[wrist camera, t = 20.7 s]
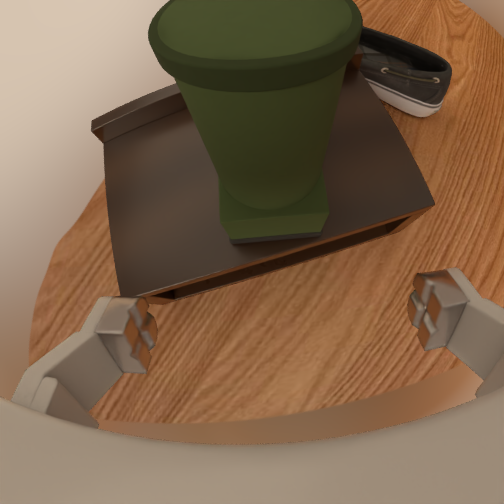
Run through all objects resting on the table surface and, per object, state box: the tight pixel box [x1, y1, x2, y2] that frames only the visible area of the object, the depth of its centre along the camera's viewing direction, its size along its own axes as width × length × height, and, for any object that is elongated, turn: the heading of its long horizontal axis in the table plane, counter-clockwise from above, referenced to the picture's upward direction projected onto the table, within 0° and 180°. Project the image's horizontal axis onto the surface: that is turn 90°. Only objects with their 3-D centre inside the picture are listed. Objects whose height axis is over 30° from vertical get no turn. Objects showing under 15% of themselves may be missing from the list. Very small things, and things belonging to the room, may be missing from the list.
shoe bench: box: [91, 47, 435, 305], centre depth 21 cm, size 14×22×9 cm, turn 106°
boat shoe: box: [358, 26, 452, 117], centre depth 24 cm, size 26×9×8 cm, turn 59°
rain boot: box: [148, 0, 363, 244], centre depth 12 cm, size 11×6×13 cm, turn 4°
